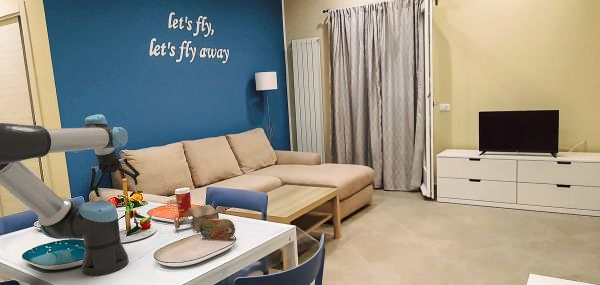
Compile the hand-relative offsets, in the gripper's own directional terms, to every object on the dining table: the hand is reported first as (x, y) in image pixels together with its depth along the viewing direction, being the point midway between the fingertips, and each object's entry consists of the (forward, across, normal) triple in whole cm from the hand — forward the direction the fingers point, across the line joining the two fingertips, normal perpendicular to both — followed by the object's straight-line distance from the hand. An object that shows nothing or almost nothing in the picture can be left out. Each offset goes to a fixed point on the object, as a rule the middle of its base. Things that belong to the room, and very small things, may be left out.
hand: (119, 197), depth 176 cm
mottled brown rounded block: (+17, -29, +33) cm, 48 cm away
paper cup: (+24, -25, -6) cm, 35 cm away
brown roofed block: (+19, -24, +12) cm, 33 cm away
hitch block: (+21, -29, +12) cm, 38 cm away
